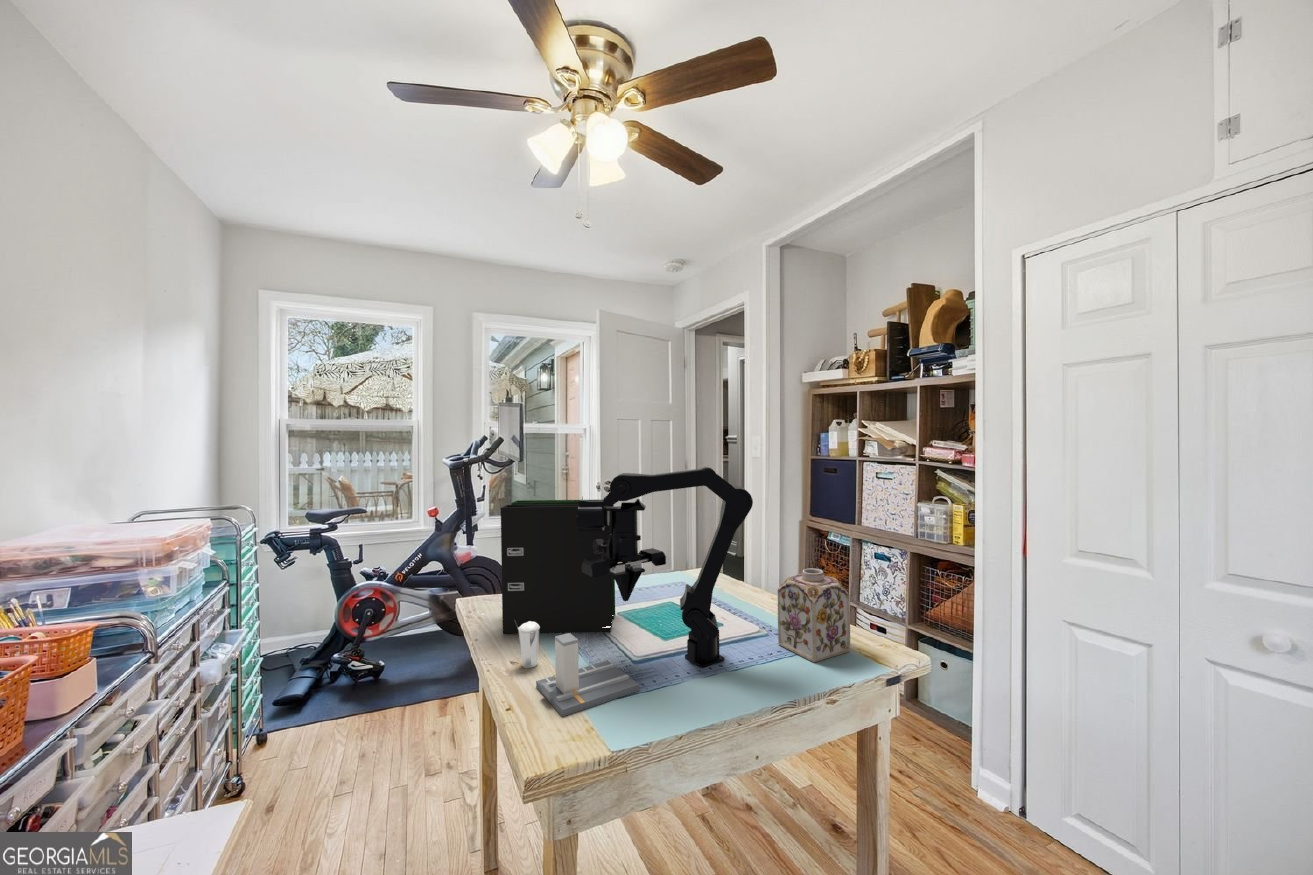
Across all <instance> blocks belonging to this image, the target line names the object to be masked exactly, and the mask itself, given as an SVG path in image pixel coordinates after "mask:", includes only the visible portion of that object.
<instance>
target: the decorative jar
mask: <svg viewBox="0 0 1313 875" xmlns="http://www.w3.org/2000/svg"><path fill="white" fill-rule="evenodd" d="M824 574H825V573H824V571H823V570H822V569H820V568H804V569H803V570H802V573H798V574H791V575H789V576H787V577H786V579H785V580H784V581H783V583H781V584H780V586H779V587H778V589H777V636H778V637H777V639H778V641H777V642H778V646H780V647H782V648H784V649H786V650H788V651H790V652H792V653H794V654H797V655H798V656H800V657H802V658H804V659H806V660H808V661H810V662H812V663H817V662H820V661H823V660H824V661H825V660H827V659H830V658H833V657H836V656H841V655H842V654H846V653H849V652H850V651H851V612H850V609H851V608H850V607H851V606H850V593H849V592H848V590H847V589H846V587H844V586H843V585H842V583H841V582H840V581H839V580H838V579H837V578H835V577H831V576H828V575H824Z"/></svg>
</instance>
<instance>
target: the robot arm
mask: <svg viewBox="0 0 1313 875" xmlns="http://www.w3.org/2000/svg"><path fill="white" fill-rule="evenodd" d="M696 487H706V488H708V489H709V490H710V492H713V493H714V494H715V495H717V496H718V497H719V498H720V499H721V501H722V502H721V507H720V512H719V513H720V515H719V521H718V525H717V527H716V530H715V532H714V535H713V538H712V540H711V543H710V545H709V548H708V551H707V552H706V555H705V558H704V561H703V563H702V565H701V569H700V571H699V573H698V576H697V579H696V580H695V581H694V583H693V585H689V584H688V583H686V585H685V587H684V588H685V589H684V593H683V595H682V596H681V598H680V599H679V607H680V609H679V610H680V611H681V620H682V622H683V624H684V625H685V626H686V627H687V628H689V629H690V631H688V639H686V640H687V642H686V645H687V646H686V647H687V648H686V651H687V653H685V654H684V658H685V659H686V660H689V661H690V662H691V663H694V664H695V665H697V666H699V667H700V668H705V667H708V666H711V665H715V664H717V663H720V662H723V661H725V656H723V655H721V654H720V630H719V626H718V622H717V618H716V617H717V616H716V614H715V613H713V611H712V610H711V607H712V599H713V593H714V588H715V585H716V583H717V580H718V579H719V575H720V573H721V570H722V568H723V565H724V562H725V560H726V557H727V555H728V552H729V549H730V547H731V545H732V542H733V539H734V537H735V534H736V531H737V530H738V529H739V528H740V527H741V525H742V524H743V522H744V521H745V520H746V518H747V516H748V514H749V513H750V511H751V510H752V507H753V505H754V502H753V501H754V500H753V499H754V498H753V497H752V495H751V494H750V492H749V491H748V490H746V489H745V488H744V487H742V486H739V485H732V484H731V483H729V482H728V481H727V480H725V479H724V478H723V477H722V476H720V475H719V474H718V473H716V471H715V470H714V469H713V468H711V467H709V466H704V467H702V468H701V467H700V468H695V469H688V470H680V471H679V470H678V471H673V472H665V473H663V472H662V473H656V474H644V473H635V472H633V473H631V472H622V473H619V474H618V475H616V476H615V477H614V478H613V479H612V480H611V481H610V484H609V492H608V493H607V495H606V496H604V497H603V499H599V500H600V501H589V500H590V499H579V500H580V501H579V507H578V514H577V517H576V522H577V529H578V531H604V528H605V526H609V511H611V516H612V534H609V537H608V541H607V542H604V541H603V539H597V540H594V541H593V553H594V554H601V558H600V557H595V558H589V559H584V561H583V563H582V572H583V573H585V574H587V575H589V576H591V577H600V576H606V575H607V574H608V573H609V574H611V575H612V576H613V577H614V579H615V584H616V585H617V588H618V591H619V592H620V595H621V599H622V601H623V602H628V601H629V600H630V597H631V595H632V593H633V591H634V590H635V587H636V584H637V582H638V580H639V579H640V577H641V576H642V574H643V573H645V572H646V569H645V568H643V567H642V566H643V564H645V563H651V564H652V565H654V566H655V567H659V566H660V567H661V566H665V565H667V555H666V554H665V552H664V551H662V550H660V549H656V548H654V547H653V548H646V549H640V550H638V549H639V544H638V543H639V542H638V541H641V540H642V538H641V537H642V535H640V534H638V511H641V512H643V511H645V510H646V505H645V504H644V503H642V501H641V500H640V497H643V496H646V495H648V494H652V493H656V492H664V491H673V490H679V489H681V490H682V489H689V488H696ZM633 499H636V500H635V501H634V502H632V500H633ZM630 500H631V501H630ZM628 501H630V502H628ZM618 502H621V503H620V506H615V505H616V504H617V503H618ZM612 505H614V507H610V506H612ZM606 557H608V558H612V560H604V559H602V558H606Z"/></svg>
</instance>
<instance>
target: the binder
mask: <svg viewBox="0 0 1313 875" xmlns="http://www.w3.org/2000/svg"><path fill="white" fill-rule="evenodd" d="M580 500H581V499H544V500H543V499H538V500H537V499H533V500H531V499H530V500H529V499H526V500H525V499H523V500H522V499H521V500H515V501H513V502H511V503H510V504H505V505H504V506H502V507H500V548H501V549H500V552H501V557H500V558H501V604H502V605H501V606H502V607H501V610H502V616H501V618H502V619H501V620H502V635H503V636H504V635H506V636H507V635H508V636H509V635H519V631H518V627H520V626H521V625H522V624H523V623H527V622H528V621H531V622H536V623H537V624H538V625H539V626H540V632H539V635H540V634H544V635H545V634H552V635H553V634H567V633H570V634H588V633H591V634H592V633H595V634H596V633H611V632H612V628H613V620H615V616H616V581H615V579H614V577H613V576H612V575H611V574H609V573H608V574H607V575H606V576H600V577H591V576H589V575H587V574H585V573H583V572H582V563H583V561H584V559H589V558H595V557H600V558H601V554H594V553H593V541H594V540H597V539H603V541H604V542H607V541H608V537H609V534H612V516H611V511H609V526H605V528H604V531H578V529H577V522H576V517H577V514H578V507H579V501H580ZM588 500H589V501H600V500H601V499H588ZM610 507H615V504H614V505H612V506H610ZM602 559H604V560H612V558H608V557H606V558H602ZM612 615H614V616H612ZM514 620H515V621H516V623H517V625H518V627H517V625H516V623H515V621H514ZM611 622H612V623H611ZM606 626H611V628H602V627H606Z"/></svg>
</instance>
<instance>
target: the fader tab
mask: <svg viewBox="0 0 1313 875" xmlns="http://www.w3.org/2000/svg"><path fill="white" fill-rule="evenodd" d="M554 648H555V649H554V653H555V654H554V656H555V658H554V659H555V660H554V662H555V675H556V687H557V688H558V689H559V690H560V691H561V692H562V693H563V694H566V693H569V692H572V691H573V690H579V669H580V668H579V639H578V638H577V637H576V636H574V635H573V633H562V634H559V635H555V637H554Z"/></svg>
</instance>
